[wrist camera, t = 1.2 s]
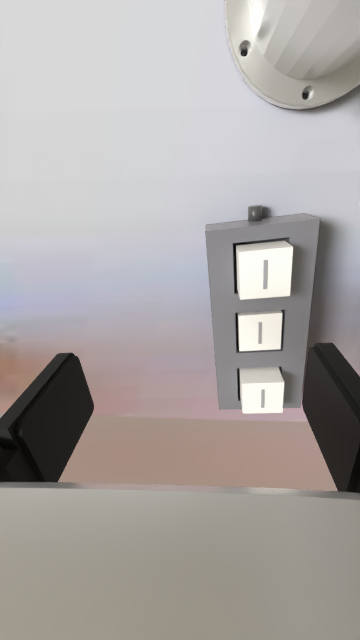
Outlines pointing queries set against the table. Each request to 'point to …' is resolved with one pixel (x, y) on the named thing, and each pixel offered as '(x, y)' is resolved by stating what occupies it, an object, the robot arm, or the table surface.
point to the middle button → (259, 330)
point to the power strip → (261, 301)
